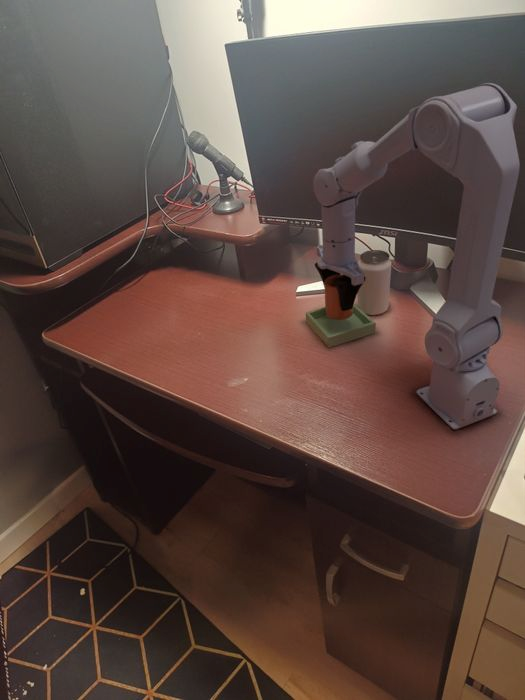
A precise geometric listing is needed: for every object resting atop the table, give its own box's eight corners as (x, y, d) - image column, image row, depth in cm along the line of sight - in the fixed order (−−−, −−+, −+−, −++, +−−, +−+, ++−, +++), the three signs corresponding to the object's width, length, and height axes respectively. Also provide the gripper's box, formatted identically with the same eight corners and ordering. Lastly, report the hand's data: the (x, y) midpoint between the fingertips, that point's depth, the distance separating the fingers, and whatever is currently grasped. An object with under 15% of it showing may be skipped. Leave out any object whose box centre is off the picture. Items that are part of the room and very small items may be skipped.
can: (386, 299, 100) (389, 248, 93) (390, 315, 95) (393, 262, 88) (356, 300, 101) (356, 249, 94) (358, 316, 96) (359, 264, 89)
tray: (375, 332, 91) (375, 322, 89) (328, 348, 88) (328, 337, 87) (349, 309, 98) (349, 299, 97) (306, 322, 96) (305, 312, 95)
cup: (358, 315, 90) (358, 283, 86) (333, 322, 88) (332, 291, 84) (344, 302, 94) (344, 271, 90) (320, 310, 93) (319, 279, 89)
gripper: (301, 228, 86) (304, 291, 95) (338, 256, 75) (338, 325, 83) (334, 219, 88) (335, 282, 96) (375, 246, 77) (373, 315, 85)
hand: (339, 302), depth 90 cm, fingers closed on cup, 5 cm apart
